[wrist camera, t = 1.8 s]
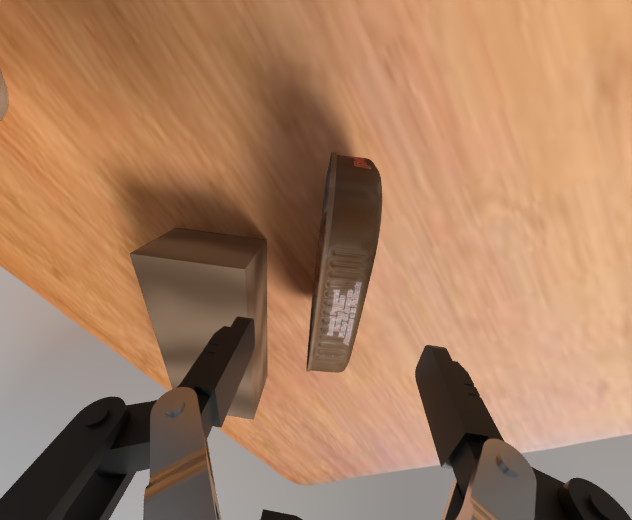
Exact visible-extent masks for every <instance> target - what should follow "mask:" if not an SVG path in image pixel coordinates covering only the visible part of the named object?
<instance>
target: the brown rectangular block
mask: <svg viewBox="0 0 632 520" xmlns="http://www.w3.org/2000/svg"><path fill="white" fill-rule="evenodd" d="M130 256H131V259H132V262H133V266H134V269H135V272H136V275H137V278H138V281H139V285H140V288H141V291H142V294H143V297H144V300H145V303H146V307H147V310H148V313H149V316H150V319H151V322H152V325H153V329H154V332H155V335H156V338H157V341H158V344H159V347H160V351H161V354H162V357H163V360H164V363H165V366H166V369H167V373H168V376H169V379H170V382H171V385H172V388H173V389H175V388H177V387H178V386H179V385H180V383H181V382H182V380H183V379H184V377H185V376H186V374H187V373H188V372H189V370H190V369H191V367H192V366H193V364H194V363H195V361H196V360H197V358H198V357H199V355H200V354H201V353H202V352H203V349H204V348H205V346H206V345H207V344H208V342H209V340H210V339H211V337H212V336H213V334H214V333H215V332H217V331H218V330H219V329H221V328H222V327H223V326H228V327H231V325H232V324H233V322H234V320H235V319H236V317H238V316H239V317H246V318H253V319H254V325H255V347H254V351H253V355H252V357H251V359H250V362H249V364H248V366H247V369H246V371H245V373H244V376H243V378H242V380H241V383H240V385H239V387H238V390H237V392H236V394H235V397H234V399H233V401H232V403H231V406H230V408H229V410H228V413H227V415H229V416H235V417H241V418H247V419H253V420H254V416H255V413H256V410H257V407H258V404H259V401H260V398H261V394H262V391H263V388H264V385H265V382H266V379H267V240H264V239H256V238H249V237H241V236H233V235H226V234H218V233H210V232H203V231H195V230H187V229H180V228H175V229H173V230H171V231H170V232H168V233H166V234H164V235H162V236H161V237H159V238H157V239H155V240H153V241H152V242H150V243H148V244H146V245H144V246H143V247H141V248H139V249H137V250H135V251H134V252H132V253H130Z"/></svg>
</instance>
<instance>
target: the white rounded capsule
mask: <svg viewBox="0 0 632 520" xmlns="http://www.w3.org/2000/svg"><path fill="white" fill-rule="evenodd" d="M8 102H9V101H8V91H7V86H6V83H5V79H4V77H3V74H2V72H1V70H0V121H1V120H2V119H3V118H4V117H5V115H6V113H7V109H8Z"/></svg>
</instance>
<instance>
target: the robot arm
mask: <svg viewBox="0 0 632 520" xmlns="http://www.w3.org/2000/svg"><path fill="white" fill-rule="evenodd" d="M254 347H255V325H254V319H253V318H246V317H239V316H238V317H236V319H235V320H234V322H233V324H232V325H231V327H228V326H223V327H222V328H221V329H219V330H218V331H217V332H215V333H214V334H213V336H212V337H211V339H210V340H209V342H208V344H207V345H206V346H205V348H204V349H203V352H202V353H201V354H200V355H199V357H198V358H197V360H196V361H195V363H194V364H193V366H192V367H191V369H190V370H189V372H188V373H187V374H186V376H185V377H184V379H183V380H182V382H181V383H180V385H179V386H178V387H177V388H175V389H172V390H170V391H168V392H167V393H165V394H164V395H162V396H161V397H160V398H159V399H158V400H155V401H151V402H145V403H139V404H133V405H125V403H124V401H123V400H122V399H121V398H119V397H107V398H103V399H100V400H97V401H95V402H93V403H92V404H90V405H88V406H87V407H85V408H84V409H83V410H82V411H80V412H79V413H78V414H77V415H76V416H75V417H74V419H73V420H72V421H71V422H70V423H69V424H68V425H67V426H66V427H65V429H64V430H63V431H62V432H61V433H60V434H59V435H58V436H57V437H56V438H55V439H54V441H53V442H52V443H51V444H50V445H49V446H48V447H47V448H46V449H45V451H44V452H43V453H42V454H41V455H40V456H39V457H38V458H37V459H36V460H35V461H34V463H33V464H32V465H31V466H30V467H29V468H28V469H27V470H26V471H25V472H24V474H23V475H22V476H21V477H20V478H19V479H18V480H17V481H16V483H14V485H13V486H12V487H11V488H10V489H9V490H8V491H7V492H6V493H5V494H4V496H3V497H2V498H1V499H0V520H109V518H110V517H111V515H112V513H113V511H114V509H115V508H116V506H117V504H118V503H119V501H120V499H121V497H122V496H123V494H124V492H125V491H126V488H127V487H128V485H129V483H130V482H131V480H132V478H133V476H134V475H135V473H136V471H141V470H145V469H150V481H149V485H148V486H147V487H146V489H145V495H144V517H143V518H144V519H143V520H221V515H220V510H219V505H218V500H217V494H216V489H215V483H214V477H213V471H212V465H211V460H210V454H209V449H208V443H207V437H208V435H209V433H210V431H211V428H212V426H216V427H222V424H223V422H224V420H225V417H226V415H227V413H228V410H229V408H230V406H231V403H232V401H233V399H234V397H235V394H236V392H237V390H238V387H239V385H240V383H241V380H242V378H243V376H244V373H245V371H246V369H247V366H248V364H249V362H250V359H251V357H252V355H253V351H254ZM415 377H416V383H417V386H418V389H419V393H420V396H421V400H422V403H423V406H424V410H425V413H426V417H427V420H428V423H429V427H430V430H431V434H432V437H433V440H434V444H435V447H436V451H437V454H438V457H439V461H440V464H441V467H442V468H448V469H453V471H454V473H455V477H456V479H455V481H454V483H453V485H452V489H451V492H450V495H449V498H448V501H447V504H446V507H445V510H444V513H443V516H442V520H632V519H631V518H630V517H629V515H628V514H627V513H626V511H625V510H624V509H623V508H622V507H621V506H620V505H619V504H618V503H617V502H616V501H615V500H614V499H613V498H612V497H611V496H610V495H609V494H608V493H607V492H605V491H604V490H603V489H601V488H600V487H598V486H597V485H595V484H593V483H592V482H589V481H587V480H585V479H581V478H573V479H571V480H570V481H568V482H567V483H566V484H565V483H563V482H561V481H559V480H557V479H555V478H552V477H551V476H549V475H546V474H545V473H542V472H540V471H538V470H536V469H534V468H533V467H531V466H530V464H529V463H528V461H527V460H526V459H525V458H524V457H523V455H522V454H521V453H520V452H518V451H517V450H516V449H515V448H514V447H512V446H511V445H509V444H508V443H506V442H504V440H503V438H502V436H501V435H500V433H499V431H498V429H497V427H496V425H495V423H494V421H493V419H492V418H491V416H490V414H489V412H488V410H487V408H486V406H485V404H484V402H483V400H482V399H481V398H480V395H479V393H478V391H477V389H476V387H474V383H473V381H472V380H471V378H470V376H469V374H468V372H467V371H466V370H465V369H464V368H463V367H462V366H461V365H460V364H459V363H458V362H456V361H452V359H451V357H450V355H449V353H448V351H447V349H446V348H444V347H438V346H431V345H426V346H425V348H424V350H423V352H422V355H421V357H420V360H419V362H418V364H417V367H416V371H415ZM261 520H302V519H301V518H299V517H297V516H294V515H289V514H284V513H279V512H274V511H268V510H263V512H262V517H261Z"/></svg>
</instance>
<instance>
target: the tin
mask: <svg viewBox="0 0 632 520" xmlns="http://www.w3.org/2000/svg"><path fill="white" fill-rule="evenodd" d="M381 212H382V186H381V177H380V174H379V171H378V170H377V168H376V167H375V165H374V163H373V162H372V161H371V160H369V159H366V158H359V157H348V156H340V155H336V153H334V152H332V153H331V157H330V163H329V167H328V172H327V178H326V186H325V196H324V203H323V211H322V219H321V228H320V236H319V245H318V253H317V261H316V270H315V279H314V288H313V297H312V308H311V319H310V332H309V343H308V356H307V371H308V372H309V371H311V370H313V371H324V372H342V371H344V370H345V368H346V367H347V365H348V363H349V360H350V356H351V353H352V349H353V345H354V341H355V337H356V334H357V329H358V326H359V322H360V318H361V314H362V309H363V305H364V301H365V297H366V293H367V289H368V284H369V281H370V276H371V272H372V268H373V263H374V259H375V255H376V249H377V244H378V238H379V231H380V223H381Z"/></svg>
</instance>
